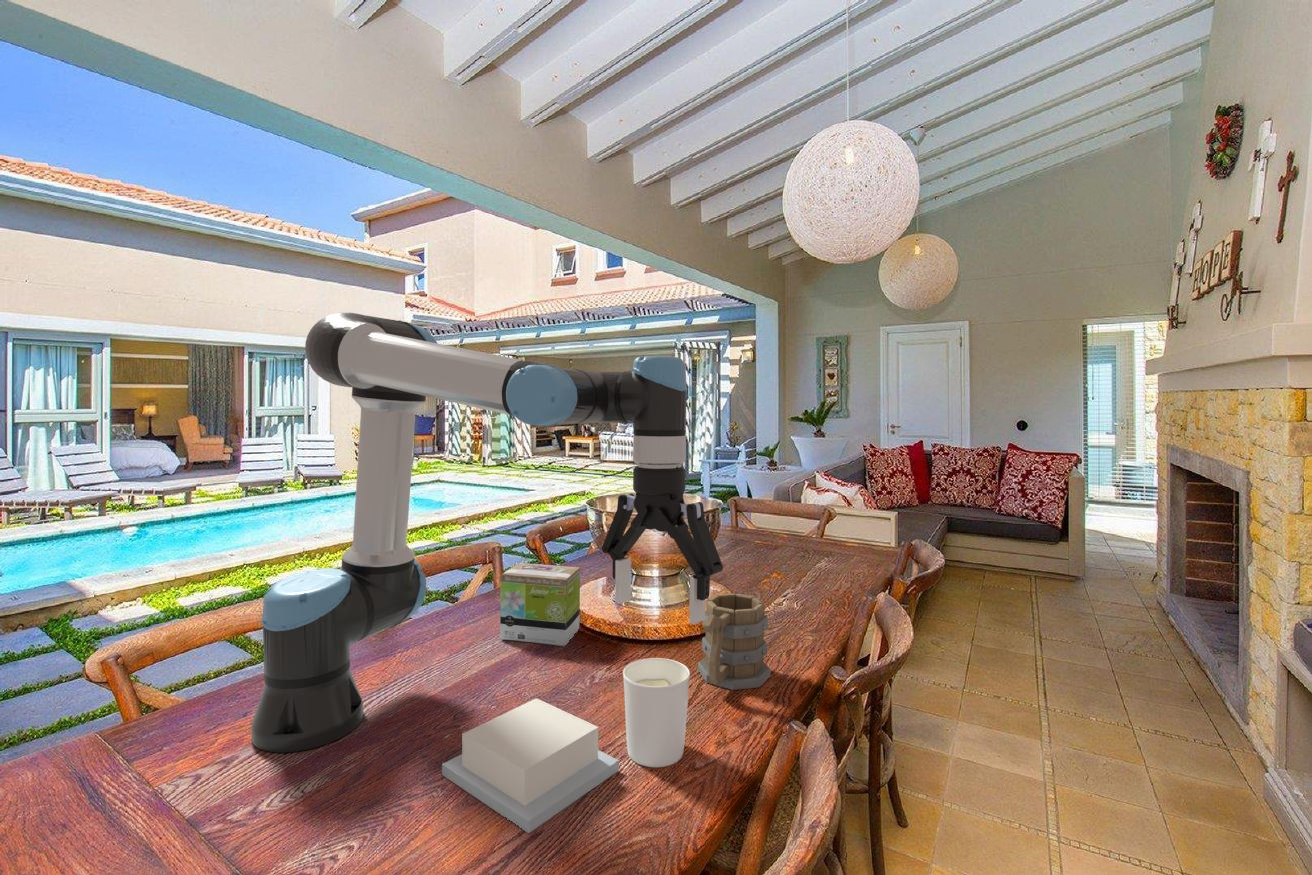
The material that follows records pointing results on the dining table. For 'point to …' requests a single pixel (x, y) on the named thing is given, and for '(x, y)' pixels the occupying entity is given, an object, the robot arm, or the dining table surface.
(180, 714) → the dining table surface
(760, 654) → the tankard
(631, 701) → the candle holder
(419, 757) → the dining table surface
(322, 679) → the robot arm
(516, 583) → the tea box
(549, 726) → the pedestal
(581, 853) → the dining table surface
